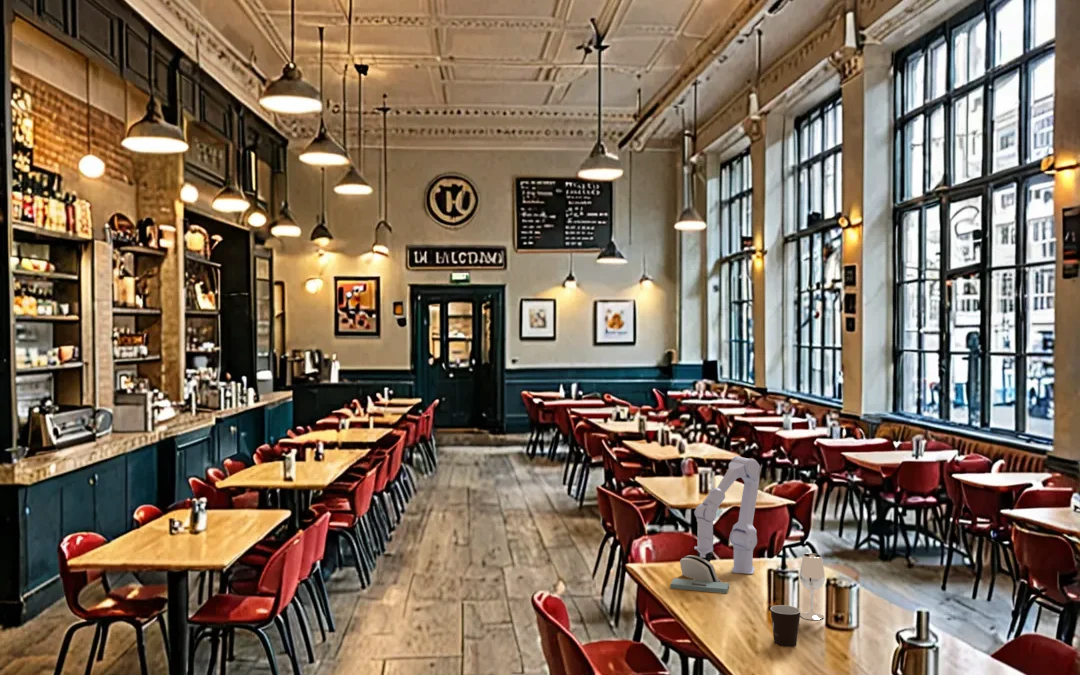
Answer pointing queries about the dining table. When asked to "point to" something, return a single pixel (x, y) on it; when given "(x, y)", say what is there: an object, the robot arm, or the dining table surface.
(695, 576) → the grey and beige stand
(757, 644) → the dining table surface
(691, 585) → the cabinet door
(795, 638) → the coffee mug
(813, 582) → the wineglass
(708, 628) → the dining table surface
